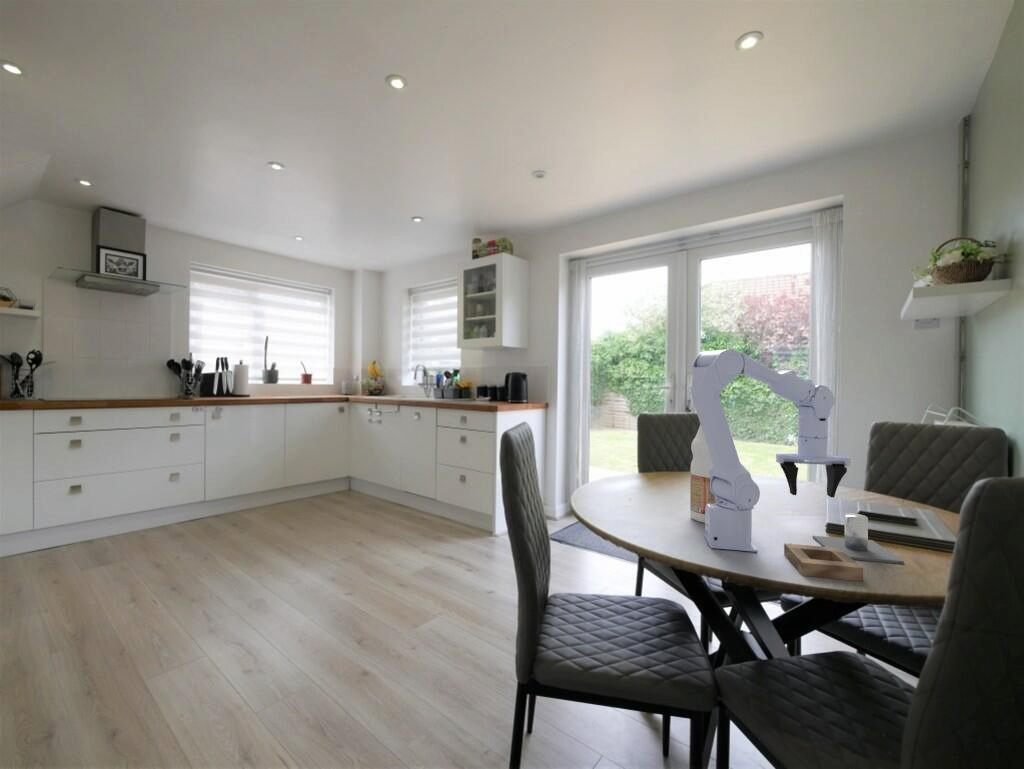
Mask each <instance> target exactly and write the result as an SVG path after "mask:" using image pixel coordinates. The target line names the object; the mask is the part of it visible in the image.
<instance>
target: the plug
mask: <svg viewBox="0 0 1024 769" xmlns="http://www.w3.org/2000/svg"><path fill="white" fill-rule="evenodd" d="M868 533H869V517H868V516H866V515H864V514H860V513H854V512H852V513H851V512H847V513H845V514H844V538H845V547H846V548H848V549H850V550H854V551H860V552H865V551H868V540H869V538H868V537H869V536H868V535H869V534H868Z"/></svg>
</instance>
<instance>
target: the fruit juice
mask: <svg viewBox="0 0 1024 769" xmlns="http://www.w3.org/2000/svg"><path fill="white" fill-rule="evenodd" d="M699 424H700V423H699ZM690 445H691V446H690V447H691V448H690V449H691V453H692V460H691V462H690V469H689V470H690V472H689V473H690V481H689V482H690V483H689V484H690V485H689V486H690V492H689V493H690V497H689V498H690V500H689V501H690V505H689V506H690V507H689V508H690V510H689V511H690V512H689V513H690V517H691V519H693V520H694V521H696V522H699V523H703V524H705V507H706V504H714V503H716V501H715V496H714V495H713V494H712V492H711V490H710V474H709V470H710V469H711V468H712V467H713V466H714V465H713V462H712V459H711V456H710V453H709V449H708V446H707V443H706V440H705V437H704V434H703V430H702V427H701V424H700V425H699V427H698V430H697V432H696V434H695V437H694V438H693V440H692V442H691V444H690Z"/></svg>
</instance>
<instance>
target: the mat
mask: <svg viewBox="0 0 1024 769" xmlns="http://www.w3.org/2000/svg"><path fill="white" fill-rule="evenodd" d="M812 539H813V540H815V541H816V542H817V543H818V544H819V545H820V546H821V547H834V548H839V549H840V550H842V551H843V552H844V553H845V554H847V555H848V556H849V557H850V558H852V559H853V560H854V561H865V562H866V561H869V562H876V563H877V562H878V563H880V562H881V563H890V564H891V563H892V564H902V565H904V564H905V561H904V560H903V559H901V558H900V557H898V556H897V555H895V554H894V553H892V552H891V551H889V550H888V549H886V548H885V547H883V546H882V545H880V544H879V543H877V542H875V540H872V539H868V551H865V552H860V551H854V550H850V549H848V548H846V547H845V537H834V536H820V535H812Z"/></svg>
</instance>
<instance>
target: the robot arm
mask: <svg viewBox="0 0 1024 769" xmlns="http://www.w3.org/2000/svg"><path fill="white" fill-rule="evenodd" d="M690 367H691V370H692V379H691V386H690V394H691V399H692V401H693V404H694V408H695V411H696V414H697V417H698V420H699V424H701V427H702V430H703V434H704V437H705V440H706V443H707V446H708V449H709V453H710V456H711V459H712V462H713V465H714V466H713V467H712V468H711V469H710V470H709V474H710V490H711V492H712V494H713V495H714V496H715V501H716V503H714V504H706V507H705V523H704V538H705V539H706V542H707V544H708V545H709V547H710V548H711V549H721V550H731V551H744V552H753V553H755V552H756V553H757V552H758V548H757V547H756V546H755V544H754V543H753V542H752V532H753V531H752V530H753V529H752V525H753V524H752V523H753V522H752V518H753V517H752V516H753V514H752V513H753V512H752V511H753V510H754V507H755V505H757V504H758V502H759V500H760V497H761V493H760V488H759V486H758V484H757V483H756V482H755V480H753V478H752V476H751V473H750V472H749V470H748V469H747V468H746V467H745V466H744V465H743V464H742V463H741V461H740V459H739V455H738V452H737V449H736V446H735V441H734V439H733V434H732V433H731V430H730V426H729V423H728V419H727V416H726V413H725V409H724V407H723V403H722V400H721V397H720V396H721V394H722V393H723V391H724V389H725V388H726V387H727V386H728V385H730V383H732V382H733V381H734V380H735V379H736V378H737V377H738V376H739V375H742V376H746V377H748V378H750V379H753V380H755V381H758V382H760V383H762V384H765V385H768V386H769V389H770V392H771V393H773V394H774V395H775V396H776V395H777V396H779V397H781V398H783V399H785V400H787V401H789V402H792V404H793V405H794V407H796V408H798V410H797V411H798V413H797V418H798V419H797V453H775V462H776V463H778V464H779V465H780V468H781V469H782V471H783V473H784V476H785V478H786V481H787V483H788V484H787V485H788V488H789V493H790V494H791V495H792V496H797V494H798V492H797V491H798V486H797V481H798V471H799V467H798V466H797V464H804V465H806V464H807V465H821V466H822V465H824V466H825V470H826V495H827V496H828V497H830V498H835V496H836V492H837V491H838V490H837V489H838V487H839V485H840V482H841V481H842V479H843V478H844V476H845V475H846V473H847V472H848V469H847V468H848V467H851V457H849V456H844V455H831V454H830V455H829V454H828V447H829V446H828V445H829V444H828V440H829V439H828V436H829V428H828V427H829V418H830V416H831V410H832V408H833V407H834V405H835V402H836V397H835V396H834V393H833V391H832V390H831V389H830V387H828V386H826V385H821V384H814V383H813V380H811V379H805V378H803V377H801V376H799V375H796V374H797V372H796V371H794V370H792V369H790V370H781V371H778V372H777V371H775V370H774V369H772V368H771V367H769V366H766V365H764V364H763V363H761V362H760V361H757V360H755V359H754V358H752V357H750V356H749V355H747V353H745V352H740V351H739V350H737V349H734V348H725V349H719V350H710V351H709V350H705V351H701V352H700V353H698V355H697V356H696V357H695V359H694V360H693V362H692V363H691V365H690Z"/></svg>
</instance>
